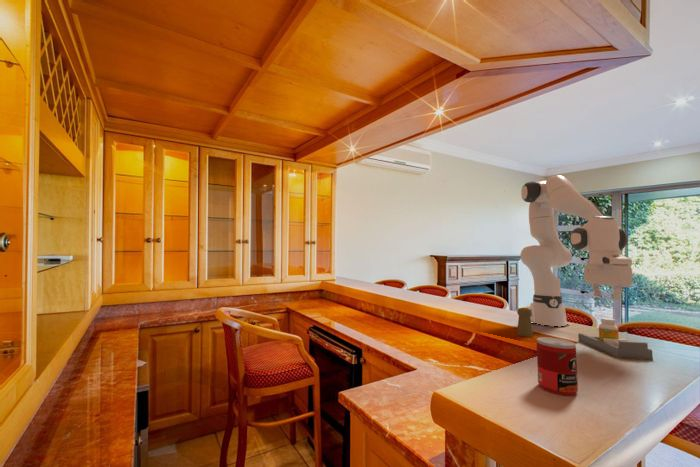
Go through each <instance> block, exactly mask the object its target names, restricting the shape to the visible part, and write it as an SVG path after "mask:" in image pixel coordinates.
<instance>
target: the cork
mask: <svg viewBox="0 0 700 467" xmlns="http://www.w3.org/2000/svg"><path fill="white" fill-rule="evenodd" d="M516 311H517V312H516V313H517V315H518V322H517V330H516V335H517V336H519V337H525V338H533V337H534V331H533V326H532V325H533V324H531V319H530V316H531V314H532V312H531V310H530V309H528V307H520V308H518V309H517V310H516Z"/></svg>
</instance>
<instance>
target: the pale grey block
mask: <svg viewBox="0 0 700 467" xmlns="http://www.w3.org/2000/svg"><path fill="white" fill-rule="evenodd" d="M618 341H628V340H627V339H625V338H619V339H609V338H604V342H606V343H609V344H611V345H614V346H617V347H619V342H618Z"/></svg>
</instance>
